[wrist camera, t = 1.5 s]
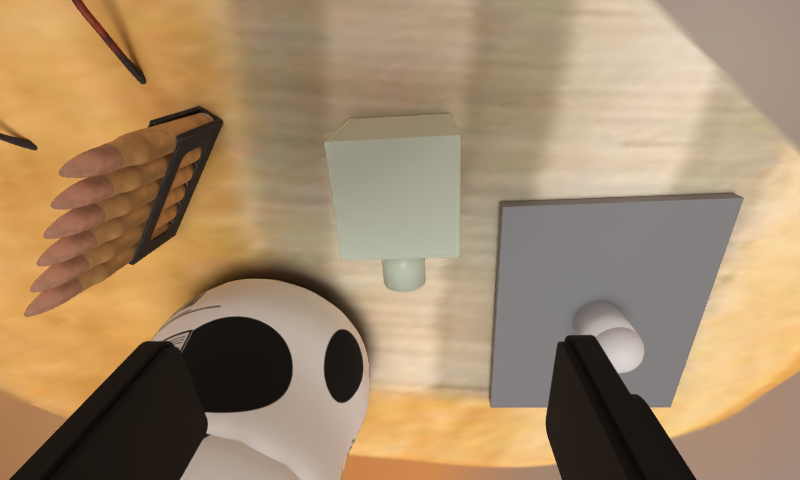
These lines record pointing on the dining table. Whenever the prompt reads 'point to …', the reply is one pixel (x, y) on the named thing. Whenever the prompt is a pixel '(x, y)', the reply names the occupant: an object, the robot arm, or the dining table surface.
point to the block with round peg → (396, 192)
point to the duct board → (604, 287)
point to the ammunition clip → (123, 203)
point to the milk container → (271, 381)
